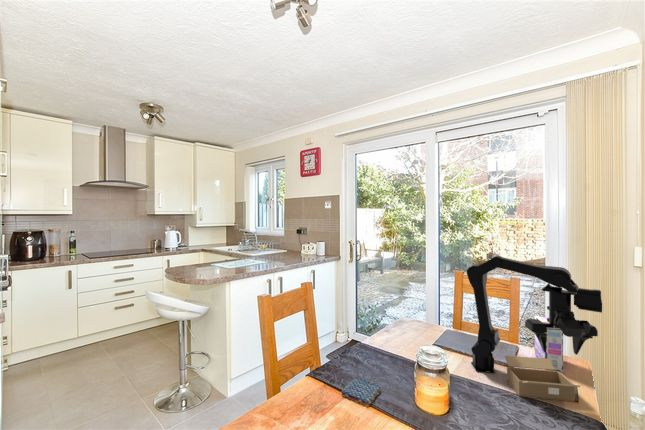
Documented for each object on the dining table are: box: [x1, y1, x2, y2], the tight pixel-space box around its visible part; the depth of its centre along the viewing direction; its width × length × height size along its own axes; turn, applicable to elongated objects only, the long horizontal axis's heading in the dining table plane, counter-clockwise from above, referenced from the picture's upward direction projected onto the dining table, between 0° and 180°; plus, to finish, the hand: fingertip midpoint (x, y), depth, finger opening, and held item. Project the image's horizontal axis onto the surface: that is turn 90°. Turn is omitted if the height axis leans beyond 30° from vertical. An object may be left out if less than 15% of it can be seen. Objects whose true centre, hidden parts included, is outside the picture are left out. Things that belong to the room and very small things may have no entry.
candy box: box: [533, 315, 564, 373], centre depth 118 cm, size 14×6×16 cm, turn 159°
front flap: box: [522, 381, 581, 388], centre depth 93 cm, size 14×4×1 cm
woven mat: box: [341, 377, 382, 407], centre depth 99 cm, size 10×11×2 cm
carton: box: [506, 366, 576, 403], centre depth 100 cm, size 16×9×5 cm, turn 80°
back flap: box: [504, 355, 555, 371], centre depth 106 cm, size 14×4×1 cm
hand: (560, 352), depth 99 cm, fingers open, 9 cm apart
